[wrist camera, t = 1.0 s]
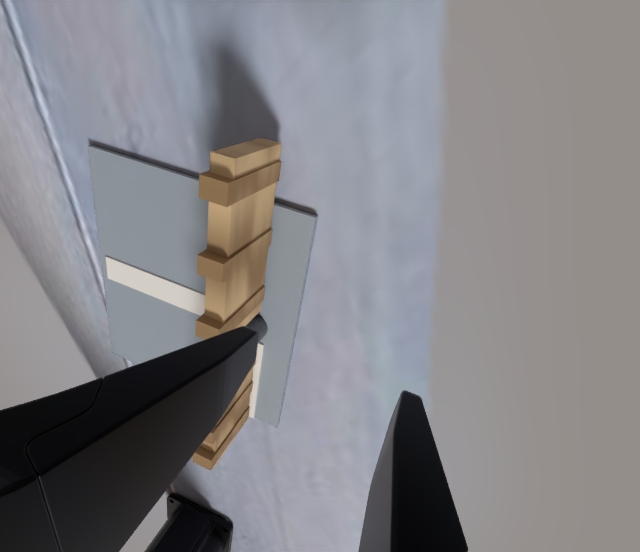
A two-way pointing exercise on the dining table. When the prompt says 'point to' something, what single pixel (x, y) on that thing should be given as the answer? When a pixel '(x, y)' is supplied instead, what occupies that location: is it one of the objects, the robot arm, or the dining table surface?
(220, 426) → the fence fixed
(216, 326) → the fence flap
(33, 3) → the dining table surface
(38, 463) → the robot arm
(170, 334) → the card
